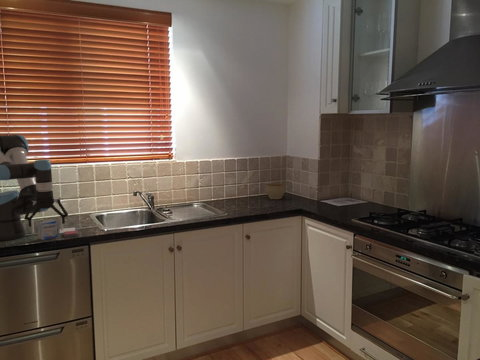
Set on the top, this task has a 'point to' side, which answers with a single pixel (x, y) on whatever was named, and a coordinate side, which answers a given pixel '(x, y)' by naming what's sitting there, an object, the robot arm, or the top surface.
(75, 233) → the ink pad
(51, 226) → the medicine box
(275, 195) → the planter bowl
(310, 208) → the top surface
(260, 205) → the top surface
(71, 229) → the paper card
